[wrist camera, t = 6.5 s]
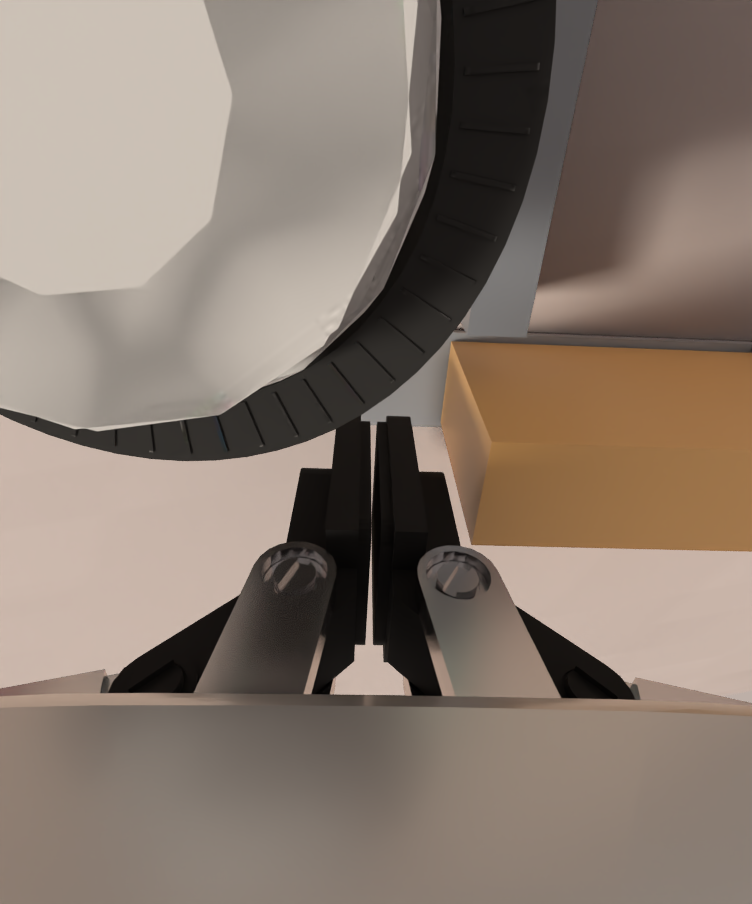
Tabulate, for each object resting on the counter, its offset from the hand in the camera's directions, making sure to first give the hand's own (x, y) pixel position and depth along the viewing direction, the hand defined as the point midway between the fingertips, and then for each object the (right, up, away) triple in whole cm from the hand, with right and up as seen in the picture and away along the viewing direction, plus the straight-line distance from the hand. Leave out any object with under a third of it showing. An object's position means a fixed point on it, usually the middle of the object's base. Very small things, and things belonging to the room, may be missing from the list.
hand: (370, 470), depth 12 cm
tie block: (+6, +2, +2) cm, 7 cm away
